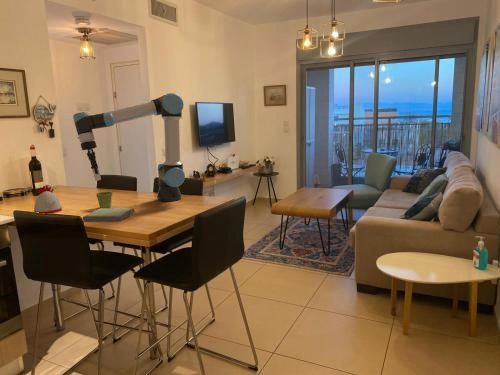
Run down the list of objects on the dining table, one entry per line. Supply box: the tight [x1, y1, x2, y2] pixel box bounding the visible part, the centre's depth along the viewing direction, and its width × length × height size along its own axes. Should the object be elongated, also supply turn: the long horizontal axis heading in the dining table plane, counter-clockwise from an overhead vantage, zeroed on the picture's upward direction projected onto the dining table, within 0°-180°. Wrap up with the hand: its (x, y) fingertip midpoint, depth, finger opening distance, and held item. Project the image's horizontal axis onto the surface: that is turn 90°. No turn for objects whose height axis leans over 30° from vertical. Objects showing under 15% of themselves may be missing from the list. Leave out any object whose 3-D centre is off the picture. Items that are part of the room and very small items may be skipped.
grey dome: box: [33, 185, 63, 214], centre depth 210 cm, size 14×14×15 cm
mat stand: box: [82, 207, 135, 222], centre depth 196 cm, size 20×18×3 cm
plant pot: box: [95, 191, 114, 209], centre depth 217 cm, size 9×9×9 cm
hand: (98, 180), depth 200 cm, fingers open, 13 cm apart
